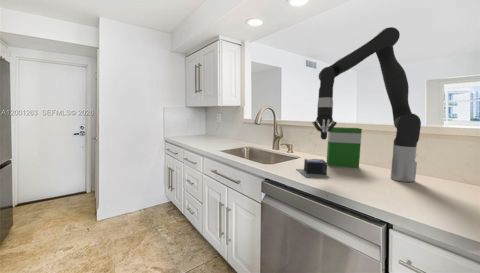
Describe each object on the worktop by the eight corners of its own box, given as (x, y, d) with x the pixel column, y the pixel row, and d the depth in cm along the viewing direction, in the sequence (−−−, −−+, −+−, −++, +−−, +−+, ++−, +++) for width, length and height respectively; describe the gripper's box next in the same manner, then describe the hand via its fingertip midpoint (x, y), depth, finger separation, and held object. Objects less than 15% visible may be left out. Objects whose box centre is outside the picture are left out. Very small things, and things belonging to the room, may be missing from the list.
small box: (327, 162, 116) (306, 162, 118) (327, 174, 117) (306, 174, 118) (323, 158, 127) (304, 158, 128) (322, 170, 127) (303, 169, 129)
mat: (316, 169, 129) (316, 169, 129) (329, 177, 113) (329, 176, 113) (296, 169, 128) (296, 169, 128) (306, 177, 112) (306, 176, 112)
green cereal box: (355, 165, 143) (358, 127, 141) (358, 167, 136) (361, 128, 133) (326, 163, 147) (328, 127, 145) (328, 165, 140) (330, 127, 138)
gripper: (315, 106, 113) (314, 140, 115) (340, 106, 114) (339, 140, 116) (310, 106, 121) (308, 138, 122) (333, 107, 122) (332, 138, 123)
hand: (323, 139), depth 119 cm, fingers closed
